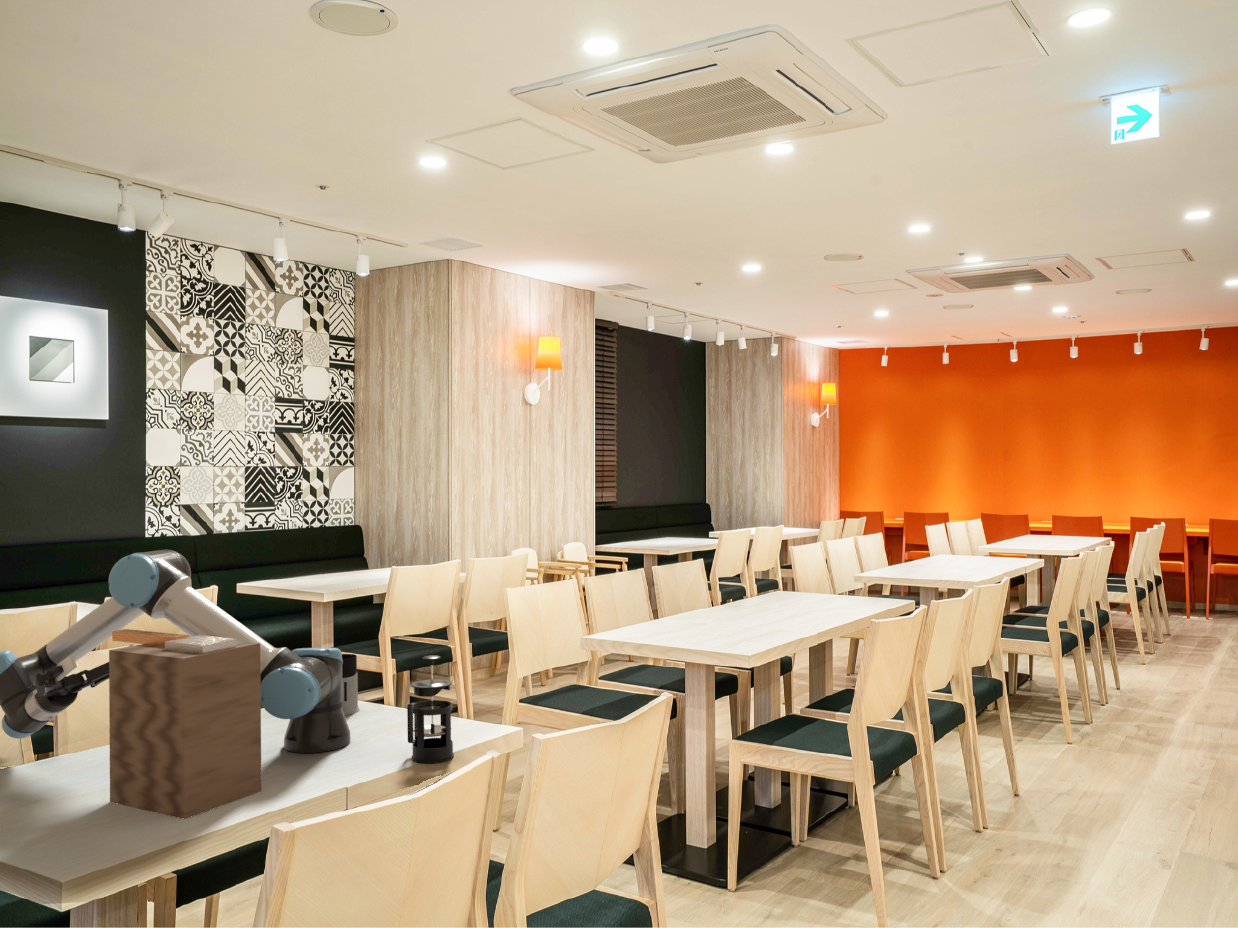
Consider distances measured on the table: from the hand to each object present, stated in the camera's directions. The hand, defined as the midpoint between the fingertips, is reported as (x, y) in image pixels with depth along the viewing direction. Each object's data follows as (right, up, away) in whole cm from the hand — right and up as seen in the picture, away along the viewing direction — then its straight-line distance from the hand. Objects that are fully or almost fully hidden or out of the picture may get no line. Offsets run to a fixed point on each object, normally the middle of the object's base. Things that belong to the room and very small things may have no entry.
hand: (104, 655), depth 204 cm
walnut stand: (+23, -26, -12) cm, 37 cm away
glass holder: (+35, -27, +54) cm, 69 cm away
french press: (+67, -26, +12) cm, 73 cm away
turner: (+18, +4, -9) cm, 21 cm away
